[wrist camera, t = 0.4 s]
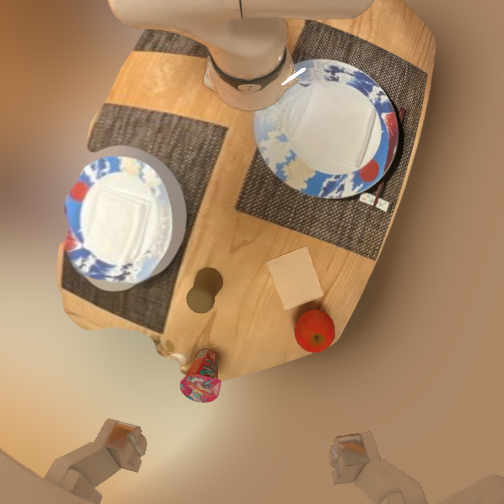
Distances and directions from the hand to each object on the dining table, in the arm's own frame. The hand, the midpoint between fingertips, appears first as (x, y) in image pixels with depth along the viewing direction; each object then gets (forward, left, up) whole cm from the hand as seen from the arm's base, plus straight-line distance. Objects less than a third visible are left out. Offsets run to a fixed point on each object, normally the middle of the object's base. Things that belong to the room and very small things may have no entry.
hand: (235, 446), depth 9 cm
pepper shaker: (+11, -10, -48) cm, 50 cm away
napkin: (+11, +9, -48) cm, 50 cm away
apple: (+20, +12, -48) cm, 53 cm away
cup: (+31, -12, -48) cm, 58 cm away
